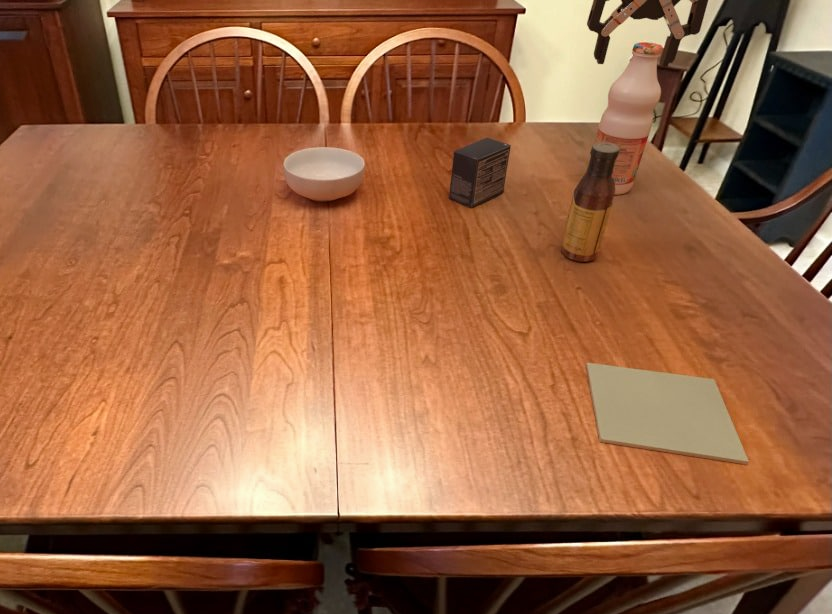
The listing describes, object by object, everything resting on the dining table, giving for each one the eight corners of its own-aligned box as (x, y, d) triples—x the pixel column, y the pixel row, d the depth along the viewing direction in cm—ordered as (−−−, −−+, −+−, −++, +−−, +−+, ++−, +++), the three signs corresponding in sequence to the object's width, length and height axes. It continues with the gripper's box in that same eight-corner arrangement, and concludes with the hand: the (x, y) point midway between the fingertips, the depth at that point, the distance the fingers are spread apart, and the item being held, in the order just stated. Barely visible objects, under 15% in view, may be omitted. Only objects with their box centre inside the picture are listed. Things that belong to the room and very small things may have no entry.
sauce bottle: (580, 242, 109) (610, 135, 97) (605, 259, 105) (640, 149, 93) (550, 249, 108) (577, 142, 96) (574, 267, 103) (605, 156, 91)
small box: (479, 183, 130) (486, 135, 123) (504, 193, 126) (513, 144, 119) (446, 198, 124) (452, 149, 118) (471, 209, 120) (479, 159, 114)
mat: (712, 382, 80) (714, 378, 80) (747, 464, 69) (749, 461, 69) (585, 365, 83) (586, 362, 83) (599, 442, 72) (600, 438, 72)
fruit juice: (574, 179, 131) (610, 40, 114) (613, 174, 132) (654, 37, 115) (600, 198, 123) (642, 53, 106) (641, 192, 125) (688, 49, 108)
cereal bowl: (359, 214, 119) (360, 181, 115) (277, 209, 121) (275, 176, 117) (367, 178, 132) (368, 147, 128) (293, 174, 135) (292, 143, 130)
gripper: (613, -65, 76) (582, 69, 86) (739, -65, 73) (691, 74, 83) (605, -71, 82) (576, 55, 91) (721, -71, 79) (678, 59, 89)
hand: (631, 64), depth 87 cm, fingers open, 8 cm apart
